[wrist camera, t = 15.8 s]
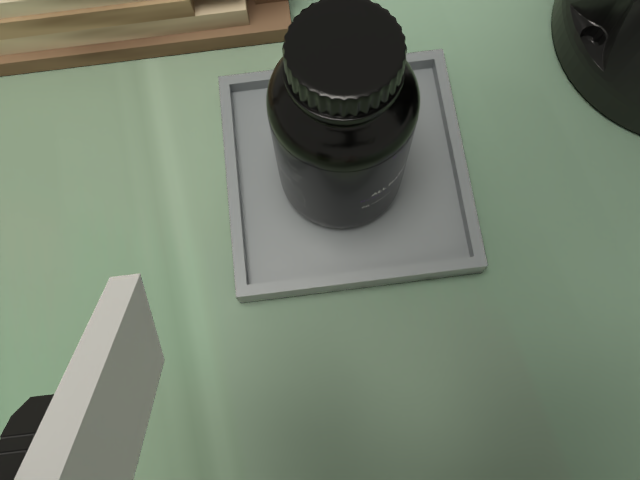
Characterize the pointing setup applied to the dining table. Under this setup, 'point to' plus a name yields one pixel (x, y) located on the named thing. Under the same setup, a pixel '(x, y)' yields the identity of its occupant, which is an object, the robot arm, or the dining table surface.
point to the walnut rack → (160, 43)
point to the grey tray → (357, 242)
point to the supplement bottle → (342, 112)
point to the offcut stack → (108, 21)
